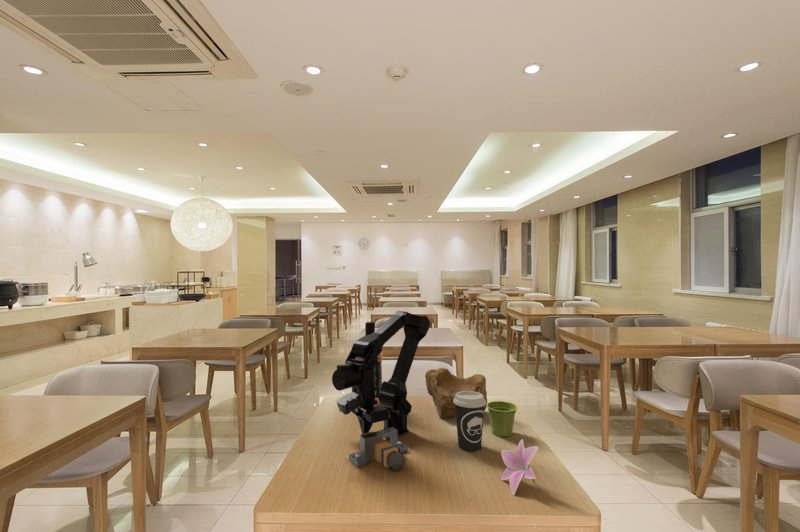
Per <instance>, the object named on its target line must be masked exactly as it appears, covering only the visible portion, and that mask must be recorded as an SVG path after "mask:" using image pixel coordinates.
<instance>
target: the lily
mask: <svg viewBox="0 0 800 532" xmlns="http://www.w3.org/2000/svg"><path fill="white" fill-rule="evenodd" d="M538 449H539V447H538V445H534V446H528V447H527V448H525V443H524V439H523V438H522V439H520V440H519V443H518V444H517V447H516V450H515V451H514V450H512V449H502V450H501V452H500V455H501V458H502V461H503V463H504V465H505V466H506V467H507V468H505V470H504V471H503V473H502V475H501V477H500V480H501V481H504V480H509V488H510V492H511V494H512V496H514V495H515V494H516V493H517V489H518V487H519V485H520V482H521V480H522V479H523V478H524V479H528V480H532V481H533V482H534V483H535V482H536V481H535V479H536V475H535V472H534V471H533V468H532V467H531V465H530V463H531V461H532V459H533V457H534V456H535V454H536V452H537V451H538Z"/></svg>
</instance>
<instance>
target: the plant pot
mask: <svg viewBox="0 0 800 532" xmlns="http://www.w3.org/2000/svg"><path fill="white" fill-rule="evenodd" d="M486 409H487V410H488V413H489V419H490V420H489V421H490V426H491V432H492V433H493V435H495V436H497V437H501V438H504V437H510V436H511V437H512V435H513V428H514V423H515V422H514V421H515V415H516V412H517V410H518V406H517V405H516V404H514V403H512V402H510V401H505V400H494V401H489V402H487V407H486Z"/></svg>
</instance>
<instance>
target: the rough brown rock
mask: <svg viewBox="0 0 800 532" xmlns="http://www.w3.org/2000/svg"><path fill="white" fill-rule="evenodd" d="M424 377H425V385H426V390H427V394H428V395H429V396H431V398H432V401H433V403H434V406H435V407H436V410H437V414H438V417H439V418H440V419H444V418H445V419H446V418H447V419H448V418H451V417H456V412H455V404H454V403H453V399H454V397H455V396H456V393H458V392H461V391H474V392H478V393H481V394H482V395H483V397H484V399H485V401H486V405H485V406H484V412H485V411H486V409H487V403H488V397H487V394H488V393H487V378H486V376H485V375H482V374H478V373H476V374H473V375H471V376H468V377H466V378H464V377H461V376H457V375H455V374H453V373H451V372H450V370H449V369H448V368H445V367H440V368H437V369H435V368H434V369H429V370H427V371H426V373H425V375H424Z"/></svg>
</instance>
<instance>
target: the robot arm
mask: <svg viewBox="0 0 800 532" xmlns="http://www.w3.org/2000/svg"><path fill="white" fill-rule="evenodd" d="M430 327H431V321H430V319H429V317H428V315H427V316H426V315H423V314H422V315H421V314H413V313H411V312H408V311H403V310H401V311H400V310H397V311H395V312H394V313H393V315H392V316H391V317H390V318H389V319H388V320H386V321H385V322H384V323H383V324H382V325H381V326H380V327H378V328H377V329H375V332H374V333H372V334H370V335H367V336H365V335H364V336H362V337H360V338H358V339H357V340H355V341H354V342H353V344H352V348H351V350H350V352H349V354H348V356H347V357H346V358H345V362H344V363H345V364H337V365H336V369H335V370H334V371H333V372H332V373H333V374H332V376H331V383H332V385H333V387H334V389H335V390H336V391H339V392H340V391H344V390H347V389H351V392H349V393H347V394H345V395H343V396H341V397H339V398H338V399H337V400H335V401H336V405H337V407H338V411H339V412H341V413H342V414H343V415H344V416H345V415H349V414H350V413H352V414H353V415H354V416H356V418H357V421H358V422H359V423H358V424H359V427H360V431H361V434H364V433H368V432H371V431H370V430H371V428H372V426H374V425H373V424H375V423H380V422H383V428H382V430H384V429H387V428H391V427H393V428H395V429H397V430H398V435H402V434H407V433H410V430H409V428H408V415H409V414H410V413H411V412H412V409H413V408H412V407H413V406H412V404H411V403H410V401H408V400H407V397H408V396H407V395H408V391H407V390H408V389H407V384H406V383H407V380H408V377H409V374H410V371H411V368H412V366H413V365H412V364H413V362H414V359H415V355H416V353H417V350H418V346H419V344H420V342H421V341H422V340H423V339H424V338H425V337H426V336H427V334H428V332H429V329H430ZM401 329H403V333H404V340H403V343H402V346H401V347H400V352H399V354H398V356H397V357H398V358H397V361H396V363H395V366H394V369H393V372H392V375H391V378H390V379H389V380H387V381H382V387H381V389H380V391H379V401H380V404H381V406H377V407H376V406H374V405H376V404H378V401H377V400H375V391H376V390H378V387H377V386H375V367H376V366H380V363H379V362H378V361H377V360H376V358H377V357H378V355H379V354H380V353H381V352H383V347H384V345H385V344H386V343H387V342H389V340H390V339H392V338H393V337H394V336H395V335H396V334H397V333H398V332H399V331H401ZM357 359H362V360H364V361H362V360H357Z"/></svg>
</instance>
